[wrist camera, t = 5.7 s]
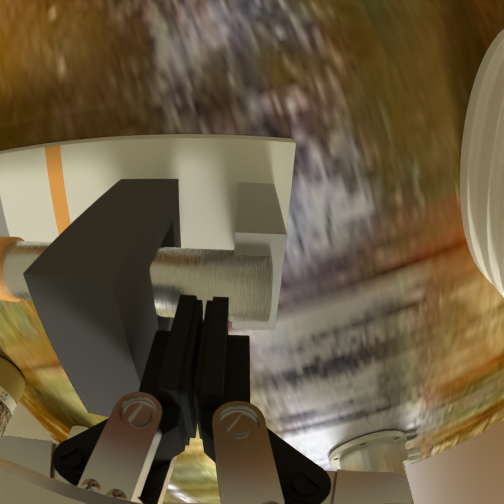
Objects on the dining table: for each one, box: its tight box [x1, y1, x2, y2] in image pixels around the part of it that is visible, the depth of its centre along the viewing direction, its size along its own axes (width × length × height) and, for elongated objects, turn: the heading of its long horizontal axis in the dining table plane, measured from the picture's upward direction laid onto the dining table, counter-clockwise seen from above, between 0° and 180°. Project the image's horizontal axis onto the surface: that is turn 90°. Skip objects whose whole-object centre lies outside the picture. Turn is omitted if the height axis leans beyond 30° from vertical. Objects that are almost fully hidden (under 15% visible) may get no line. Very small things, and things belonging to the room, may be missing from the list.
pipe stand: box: [0, 134, 296, 330], centre depth 16 cm, size 24×10×8 cm, turn 87°
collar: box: [23, 179, 181, 417], centre depth 13 cm, size 3×7×8 cm, turn 177°
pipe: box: [0, 241, 273, 322], centre depth 13 cm, size 21×3×3 cm, turn 87°
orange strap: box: [0, 145, 71, 302], centre depth 15 cm, size 1×10×8 cm, turn 177°
